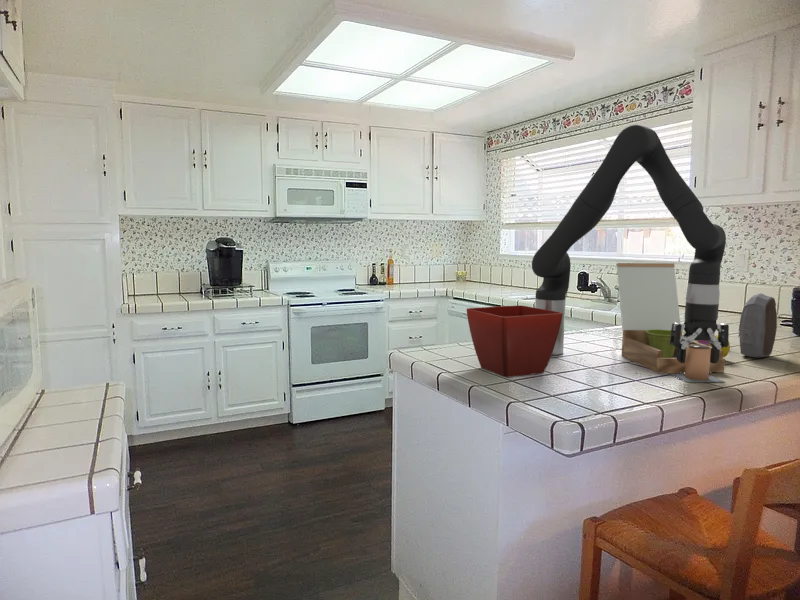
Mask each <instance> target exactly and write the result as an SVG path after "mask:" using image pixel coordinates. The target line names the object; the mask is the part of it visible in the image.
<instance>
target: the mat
mask: <svg viewBox="0 0 800 600" xmlns="http://www.w3.org/2000/svg"><path fill="white" fill-rule="evenodd" d="M671 375H672V377H673V376H675V377H674V378H676V377H677V378H676V379H678V378H679V379H678V380H680V379H681V381H682V380H684V381H686V382H725V383H726V381H725V380H723V379H720V378H718V377H715V376H712V375H710V374H709V379H708V380H694V379H689V378H686V377H685V373H669V376H671ZM684 381H683V382H684ZM686 382H685V383H686Z"/></svg>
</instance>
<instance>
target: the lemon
mask: <svg viewBox="0 0 800 600" xmlns="http://www.w3.org/2000/svg"><path fill="white" fill-rule="evenodd" d="M715 336H716V338H717V339H718V334H717V335H716V334H715ZM709 346H710V347H711V345H710V344H709ZM720 350H722V351H723V356H722V358H726V356H728V354H729V353H730V351H731V345H730V341H729V340H728V346H727V347H723V348H721V349H720Z"/></svg>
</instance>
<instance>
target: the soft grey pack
mask: <svg viewBox="0 0 800 600" xmlns="http://www.w3.org/2000/svg"><path fill="white" fill-rule="evenodd" d="M776 302H777V301H776V299H775V298H774V297H772V296H769V295H767V294H766V295H765V294H764V293H757V294H754V295H753V296H751V297H750V298H749V299H748V300H747V301H746V302H745V303H744V306H743V308H742V311H741V314H740V319H739V327H738V335H737V337H738V338H739V346H740V347H739V348H740V354H742V355H743V356H745V357H750V358H764V357H765V358H766V357H769V356H771V355H772V353H773V349H774V346H775V345H774V344H775V341H776V335H777V331H778V330H777V329H778V328H777V327H778V314H777V303H776Z"/></svg>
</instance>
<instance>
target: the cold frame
mask: <svg viewBox="0 0 800 600" xmlns="http://www.w3.org/2000/svg"><path fill="white" fill-rule="evenodd" d="M646 331H647V330H623V331H622V342H621V356H622V357H624V358H626V359H627V360H630V361H633V362H634V363H636V364H637V365H638V364H639V365H640V366H643V367H645V368H647V369H649V370H651V371H653V372H655V373H656V374H681V373H680V372H685V363H680V362H678V360H677V358H676V356H677V347H675V352H674V356H673V358H661V356H662V351H661V350H659V349H656V348H654V347H651V346H649V338H648V335H647V333H646ZM670 331H671V330H670ZM682 335H683V331H682V332H681V335H680V339H681V336H682ZM691 344H696V345H704V344H701V343H698V342H695V341H692V343H690V344H689V345H691ZM705 346H707V345H705ZM708 347H709V348H712V347H710V346H708ZM686 348H687V347H686ZM686 348H685V349H686ZM722 356H723V351H722V350H720V353H719V360H718V361H717V363H711V362H710V369H709V372H724V373H725V365H726V358H725V357H723V358H722ZM685 362H686V357H685Z"/></svg>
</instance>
